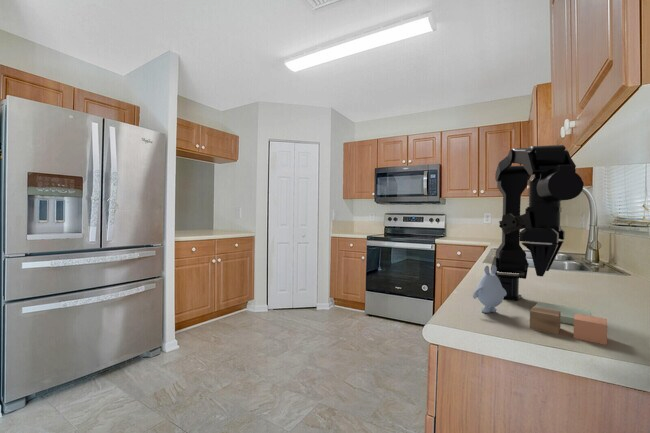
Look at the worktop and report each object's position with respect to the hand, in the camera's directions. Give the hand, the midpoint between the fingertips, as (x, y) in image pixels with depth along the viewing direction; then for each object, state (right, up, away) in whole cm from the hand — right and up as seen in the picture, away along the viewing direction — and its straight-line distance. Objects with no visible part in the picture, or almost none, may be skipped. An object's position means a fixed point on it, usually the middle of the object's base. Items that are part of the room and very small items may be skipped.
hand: (542, 273), depth 68 cm
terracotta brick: (+6, -12, -5) cm, 15 cm away
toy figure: (-6, -12, +11) cm, 17 cm away
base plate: (+10, -12, +8) cm, 18 cm away
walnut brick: (0, -12, 0) cm, 12 cm away
